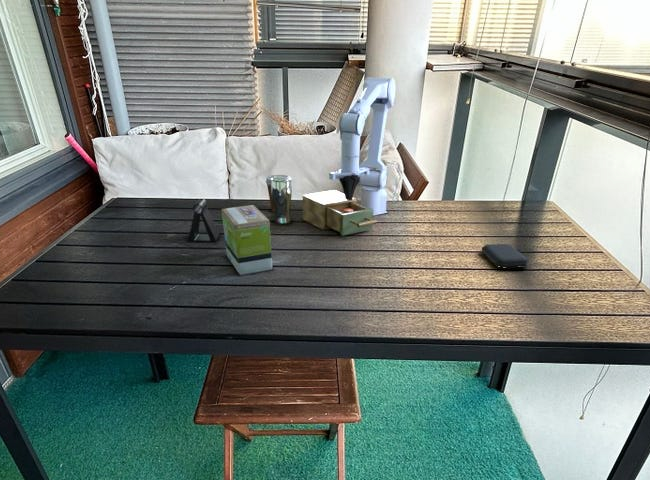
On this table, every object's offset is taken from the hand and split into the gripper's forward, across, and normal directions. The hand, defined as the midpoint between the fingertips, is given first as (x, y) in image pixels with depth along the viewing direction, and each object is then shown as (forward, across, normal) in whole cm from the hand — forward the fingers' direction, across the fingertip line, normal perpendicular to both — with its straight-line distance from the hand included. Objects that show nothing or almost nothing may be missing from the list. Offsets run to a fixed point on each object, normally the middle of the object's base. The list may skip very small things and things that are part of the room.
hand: (348, 199), depth 160 cm
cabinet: (+10, 0, +12) cm, 16 cm away
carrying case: (+11, +24, -47) cm, 54 cm away
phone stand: (+11, -44, +19) cm, 49 cm away
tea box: (+11, -42, -8) cm, 44 cm away
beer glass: (+11, -14, +20) cm, 27 cm away
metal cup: (+11, -8, +33) cm, 35 cm away
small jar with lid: (+8, 0, 0) cm, 8 cm away
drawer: (+9, 0, -2) cm, 10 cm away
